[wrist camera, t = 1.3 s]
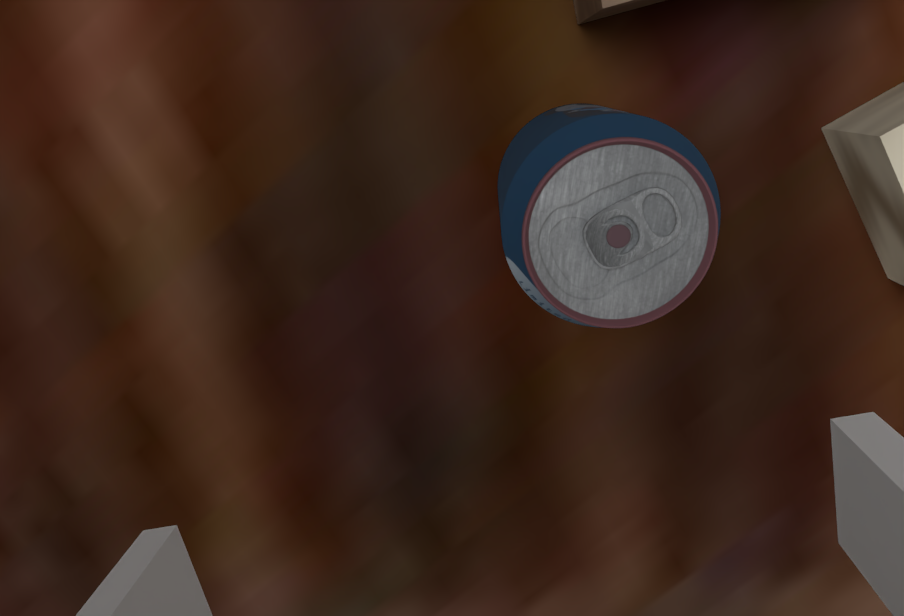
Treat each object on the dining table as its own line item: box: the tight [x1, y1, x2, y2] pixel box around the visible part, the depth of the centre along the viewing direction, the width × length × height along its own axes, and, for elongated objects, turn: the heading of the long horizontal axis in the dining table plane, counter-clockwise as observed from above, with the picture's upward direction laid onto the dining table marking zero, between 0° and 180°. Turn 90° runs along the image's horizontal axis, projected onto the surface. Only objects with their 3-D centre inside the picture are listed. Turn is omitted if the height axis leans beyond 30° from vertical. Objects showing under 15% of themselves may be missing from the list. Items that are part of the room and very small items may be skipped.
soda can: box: [498, 104, 721, 328], centre depth 26 cm, size 7×7×12 cm
